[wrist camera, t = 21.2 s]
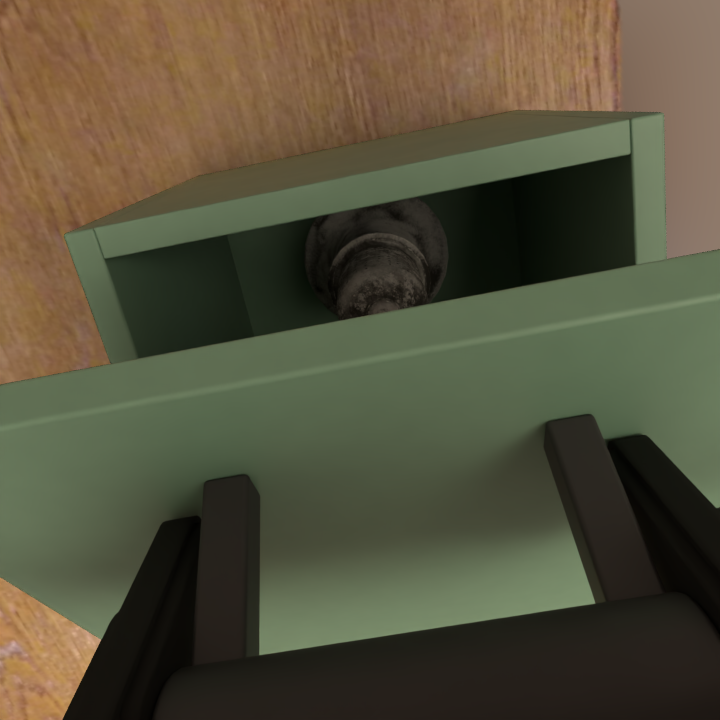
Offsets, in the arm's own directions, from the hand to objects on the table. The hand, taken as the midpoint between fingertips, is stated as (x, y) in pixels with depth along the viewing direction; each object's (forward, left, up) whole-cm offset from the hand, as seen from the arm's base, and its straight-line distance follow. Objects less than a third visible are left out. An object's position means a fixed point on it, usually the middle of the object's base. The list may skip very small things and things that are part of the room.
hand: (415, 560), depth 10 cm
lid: (+3, -1, -3) cm, 4 cm away
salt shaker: (-1, 0, -21) cm, 21 cm away
